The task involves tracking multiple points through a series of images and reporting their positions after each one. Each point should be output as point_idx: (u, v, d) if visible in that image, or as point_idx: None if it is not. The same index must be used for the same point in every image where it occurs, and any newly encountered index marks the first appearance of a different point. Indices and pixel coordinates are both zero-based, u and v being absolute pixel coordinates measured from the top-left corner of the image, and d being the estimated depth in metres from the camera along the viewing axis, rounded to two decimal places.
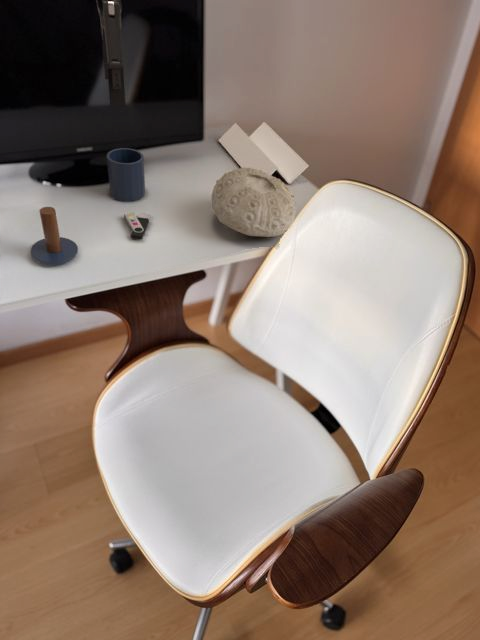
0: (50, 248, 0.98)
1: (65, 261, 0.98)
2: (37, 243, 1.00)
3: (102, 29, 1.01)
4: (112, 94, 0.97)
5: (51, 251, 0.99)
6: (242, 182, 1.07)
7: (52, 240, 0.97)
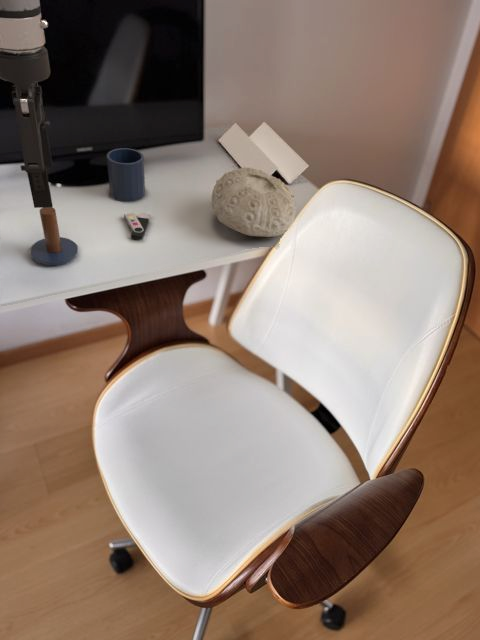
0: (50, 248, 0.98)
1: (65, 261, 0.98)
2: (37, 243, 1.00)
3: None
4: (35, 195, 0.85)
5: (51, 251, 0.99)
6: (242, 182, 1.07)
7: (52, 240, 0.97)
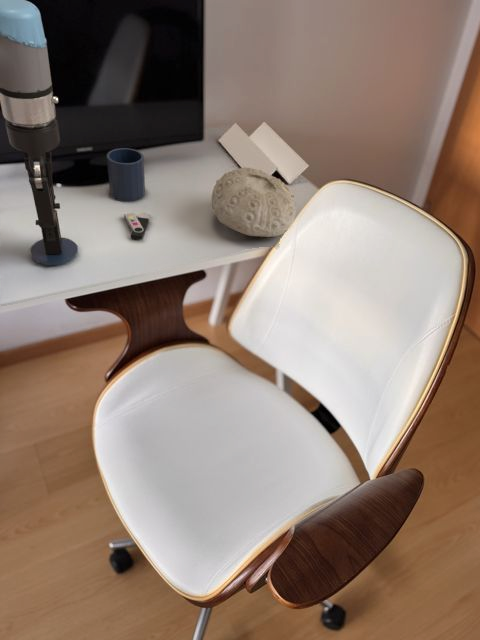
0: None
1: (65, 261, 0.98)
2: (37, 243, 1.00)
3: None
4: (47, 244, 0.97)
5: None
6: (242, 182, 1.07)
7: None
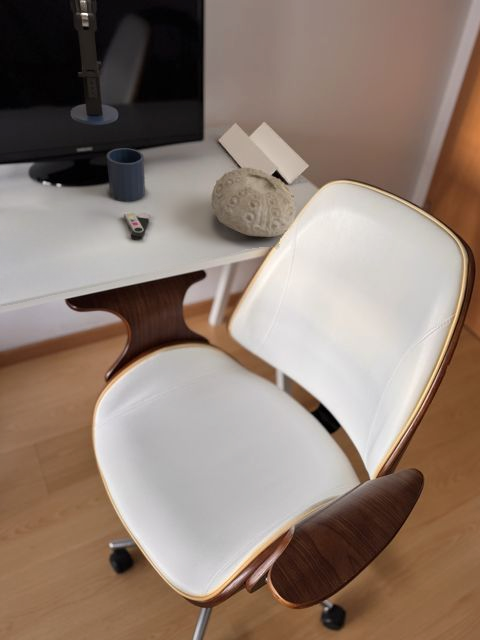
0: None
1: (106, 122, 0.96)
2: (77, 107, 0.99)
3: None
4: (88, 103, 0.95)
5: None
6: (242, 182, 1.07)
7: None
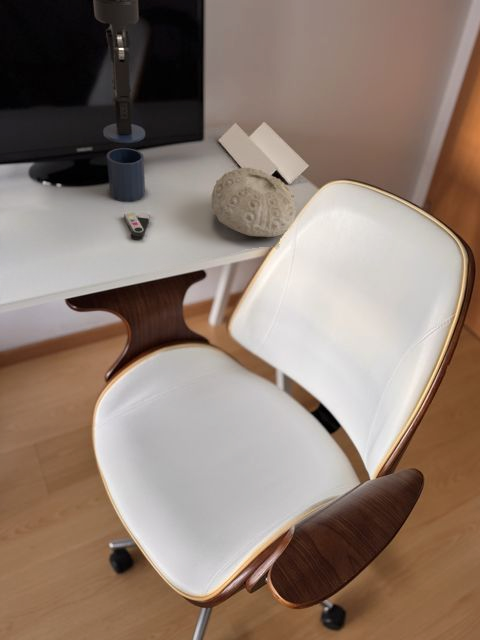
0: None
1: (135, 140, 1.08)
2: (108, 126, 1.11)
3: (113, 73, 1.04)
4: (119, 123, 1.07)
5: None
6: (242, 182, 1.07)
7: None
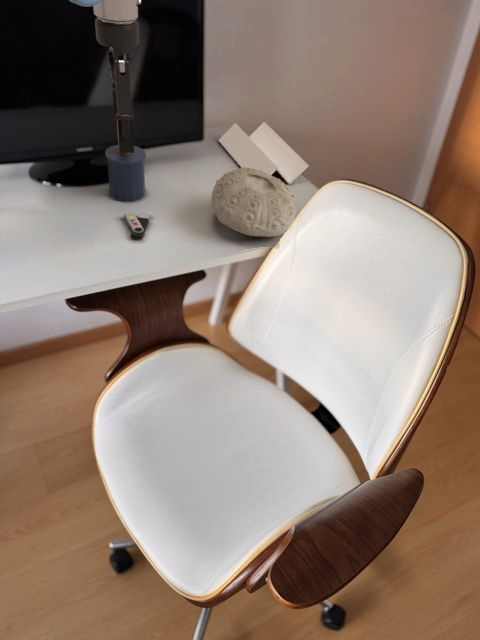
0: None
1: (136, 162, 1.11)
2: (110, 148, 1.14)
3: None
4: (121, 142, 1.04)
5: (123, 154, 1.12)
6: (242, 182, 1.07)
7: None
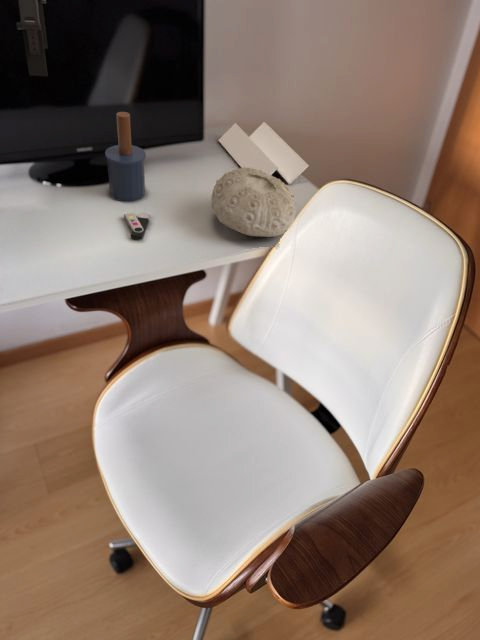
0: (123, 151, 1.12)
1: (136, 162, 1.11)
2: (110, 148, 1.14)
3: None
4: (30, 61, 0.84)
5: (123, 154, 1.12)
6: (242, 182, 1.07)
7: (125, 143, 1.10)
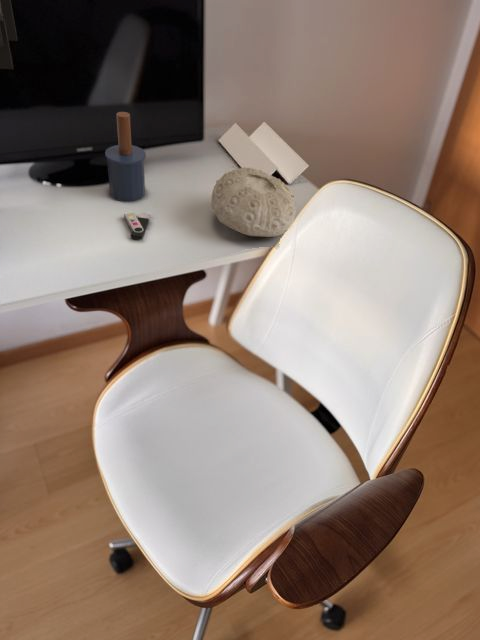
0: (123, 151, 1.12)
1: (136, 162, 1.11)
2: (110, 148, 1.14)
3: None
4: None
5: (123, 154, 1.12)
6: (242, 182, 1.07)
7: (125, 143, 1.10)
